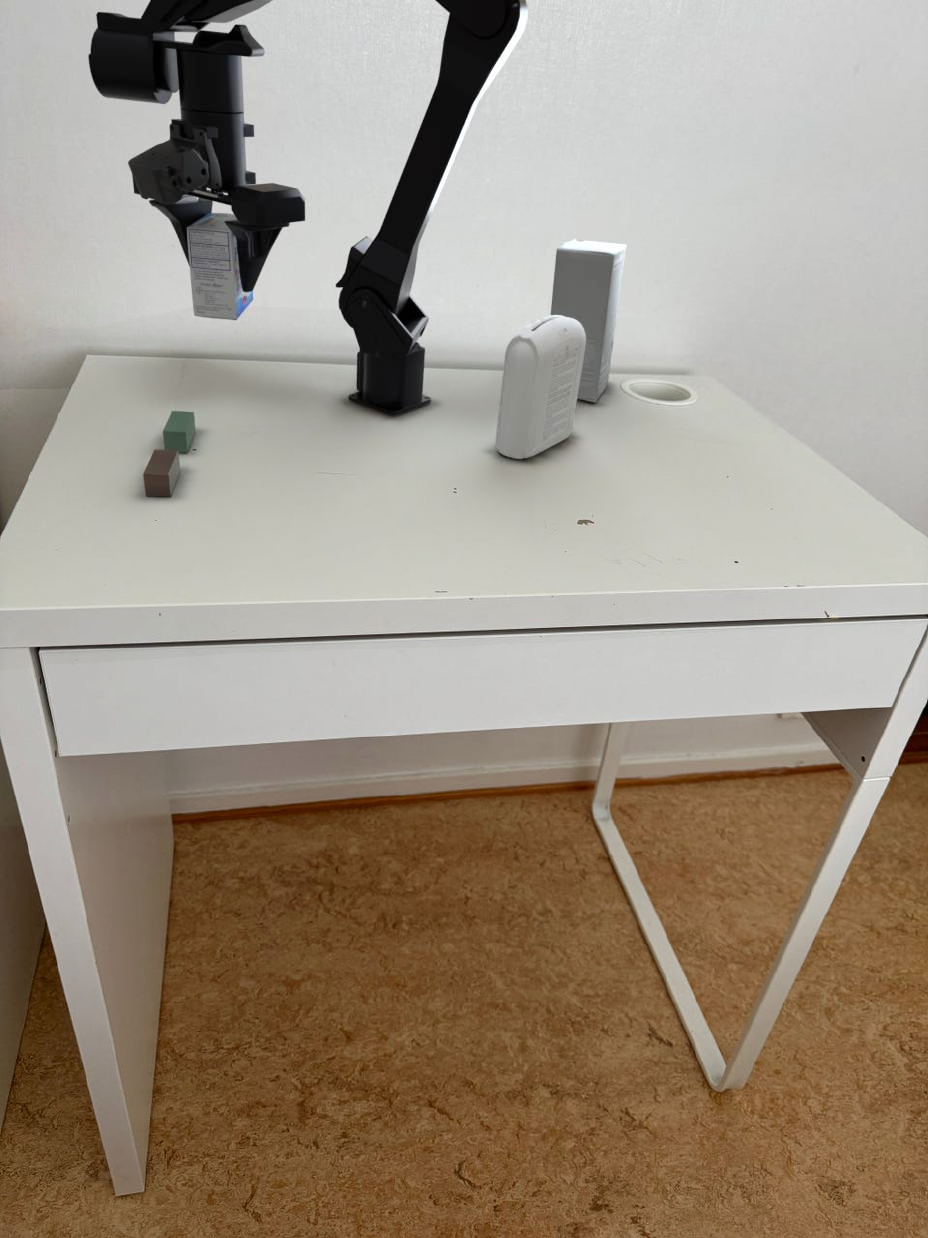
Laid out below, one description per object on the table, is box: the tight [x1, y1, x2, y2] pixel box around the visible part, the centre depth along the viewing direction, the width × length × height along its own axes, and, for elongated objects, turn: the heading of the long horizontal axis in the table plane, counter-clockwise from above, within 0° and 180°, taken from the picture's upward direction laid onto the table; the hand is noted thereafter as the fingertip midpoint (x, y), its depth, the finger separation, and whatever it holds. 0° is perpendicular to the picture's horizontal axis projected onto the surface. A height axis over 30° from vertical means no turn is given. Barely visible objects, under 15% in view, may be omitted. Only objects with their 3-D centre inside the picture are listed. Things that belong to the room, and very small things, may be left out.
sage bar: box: [162, 410, 196, 454], centre depth 83 cm, size 5×2×2 cm, turn 6°
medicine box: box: [187, 212, 254, 321], centre depth 92 cm, size 8×4×9 cm, turn 179°
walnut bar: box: [142, 448, 181, 498], centre depth 76 cm, size 5×2×2 cm, turn 6°
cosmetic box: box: [550, 239, 628, 403], centre depth 102 cm, size 8×7×16 cm
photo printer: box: [495, 314, 586, 460], centre depth 87 cm, size 10×4×12 cm, turn 146°
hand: (222, 283), depth 93 cm, fingers closed on medicine box, 7 cm apart
